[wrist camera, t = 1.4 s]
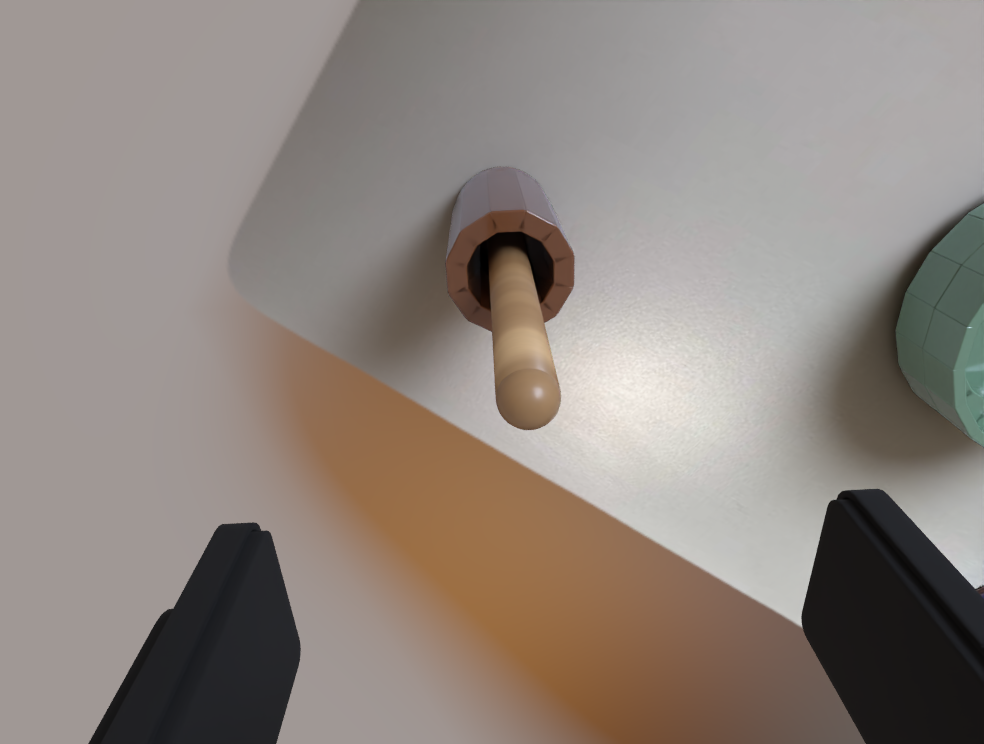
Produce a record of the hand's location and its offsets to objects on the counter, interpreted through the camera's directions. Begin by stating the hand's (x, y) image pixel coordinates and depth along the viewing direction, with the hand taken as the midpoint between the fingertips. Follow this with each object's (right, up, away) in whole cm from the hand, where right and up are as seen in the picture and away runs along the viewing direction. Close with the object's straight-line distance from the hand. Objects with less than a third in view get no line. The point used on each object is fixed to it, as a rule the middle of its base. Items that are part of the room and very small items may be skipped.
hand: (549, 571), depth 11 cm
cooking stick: (0, +11, +20) cm, 23 cm away
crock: (0, +11, +21) cm, 24 cm away
